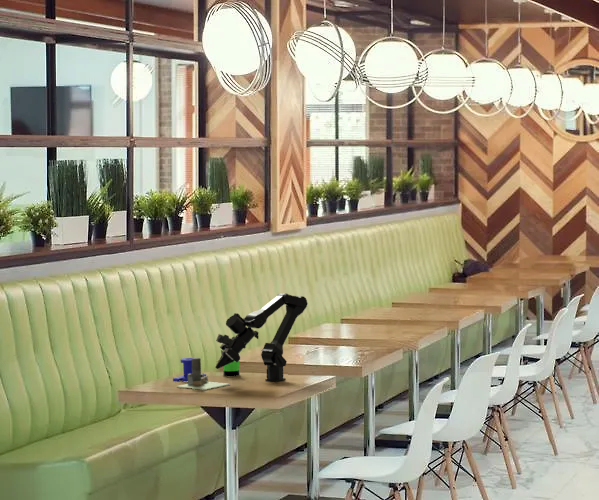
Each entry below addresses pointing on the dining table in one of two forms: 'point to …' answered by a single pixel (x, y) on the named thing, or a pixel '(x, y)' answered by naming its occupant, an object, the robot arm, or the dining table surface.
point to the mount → (185, 369)
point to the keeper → (191, 379)
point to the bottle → (231, 369)
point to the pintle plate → (204, 385)
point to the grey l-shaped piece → (197, 372)
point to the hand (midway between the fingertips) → (216, 368)
